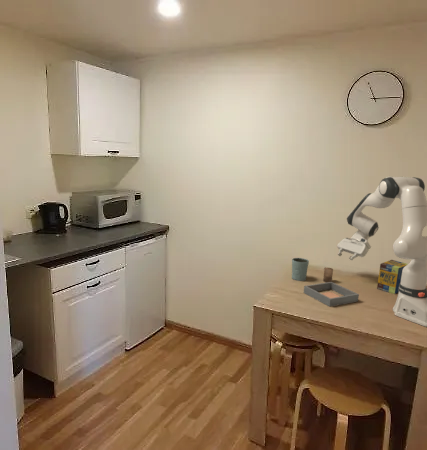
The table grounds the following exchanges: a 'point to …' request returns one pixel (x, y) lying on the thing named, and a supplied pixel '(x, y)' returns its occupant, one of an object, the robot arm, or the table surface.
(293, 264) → the teal cup
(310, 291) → the shallow gray dish
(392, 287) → the protein box
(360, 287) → the table surface
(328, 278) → the walnut post
